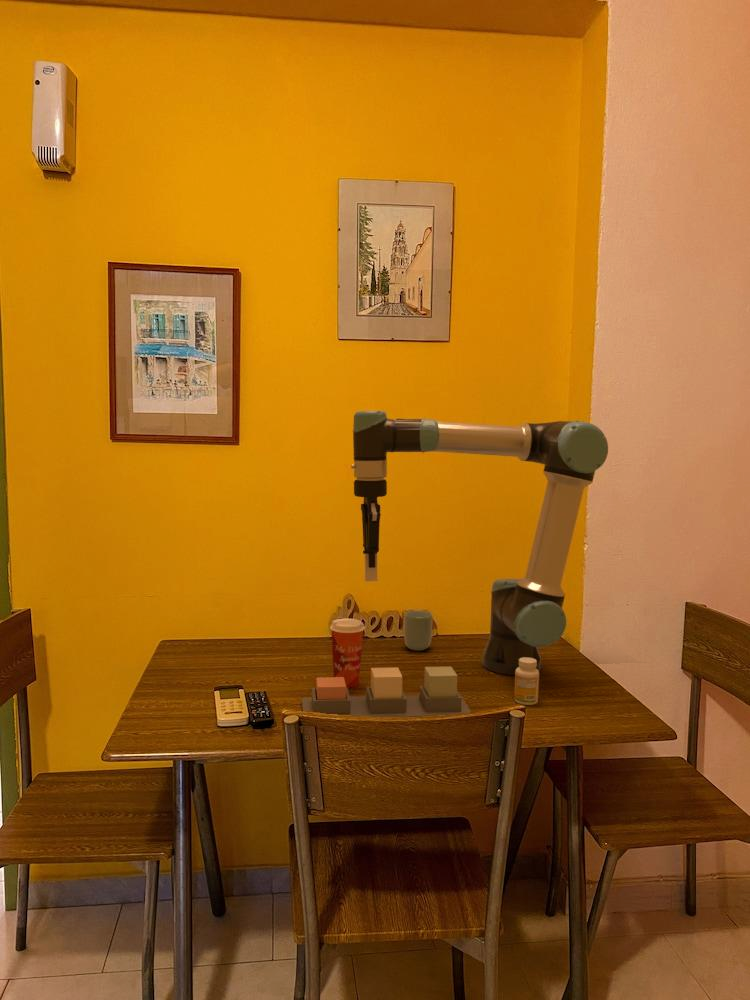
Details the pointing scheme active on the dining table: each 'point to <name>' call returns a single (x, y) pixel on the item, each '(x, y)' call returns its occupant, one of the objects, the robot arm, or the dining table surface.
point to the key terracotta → (330, 688)
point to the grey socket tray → (388, 705)
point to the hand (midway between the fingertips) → (371, 580)
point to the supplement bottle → (526, 682)
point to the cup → (418, 629)
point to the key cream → (386, 683)
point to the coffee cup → (347, 649)
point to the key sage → (440, 682)
